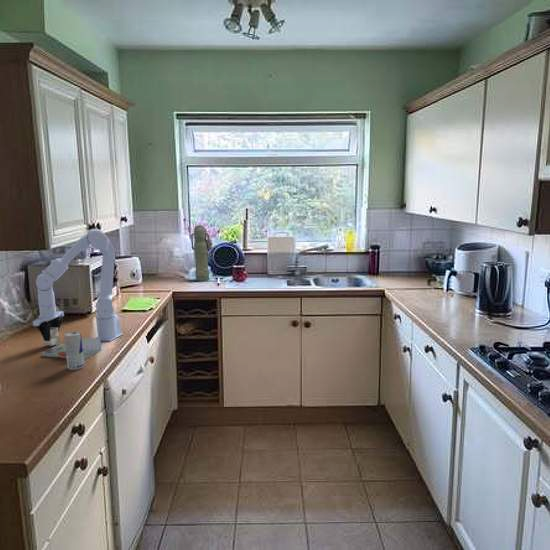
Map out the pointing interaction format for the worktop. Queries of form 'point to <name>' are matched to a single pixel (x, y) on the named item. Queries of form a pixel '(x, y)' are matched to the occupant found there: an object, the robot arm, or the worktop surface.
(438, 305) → the worktop surface
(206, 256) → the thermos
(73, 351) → the energy drink
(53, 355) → the stepped stand
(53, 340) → the column block
